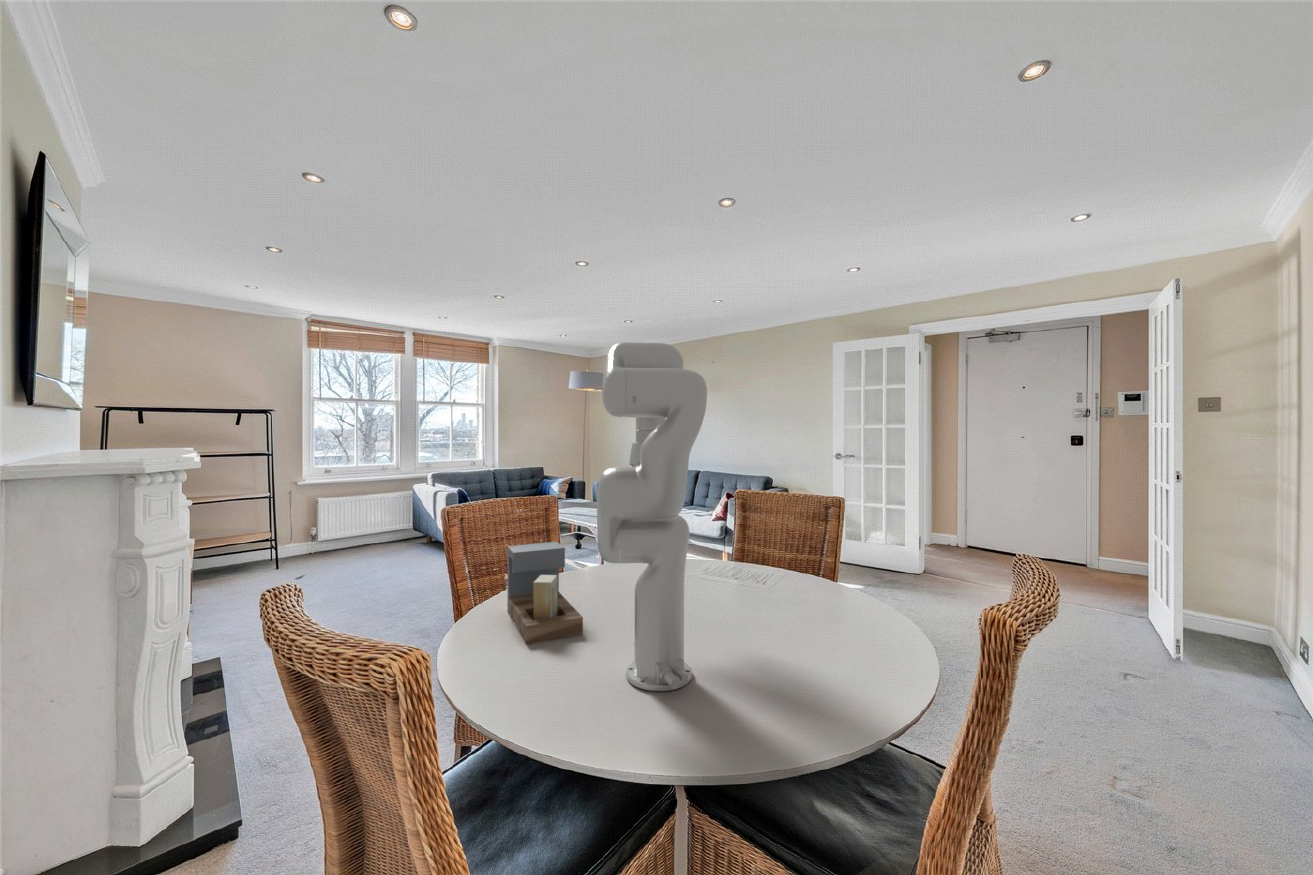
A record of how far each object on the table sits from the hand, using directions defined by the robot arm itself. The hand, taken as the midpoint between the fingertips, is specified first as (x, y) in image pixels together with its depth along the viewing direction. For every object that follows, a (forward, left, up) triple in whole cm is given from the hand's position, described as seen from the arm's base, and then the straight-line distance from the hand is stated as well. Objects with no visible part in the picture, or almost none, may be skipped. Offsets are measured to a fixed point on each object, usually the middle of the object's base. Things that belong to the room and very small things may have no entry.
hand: (650, 505), depth 133 cm
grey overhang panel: (+15, +26, -28) cm, 41 cm away
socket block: (+6, +25, -28) cm, 39 cm away
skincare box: (+3, +26, -28) cm, 39 cm away
